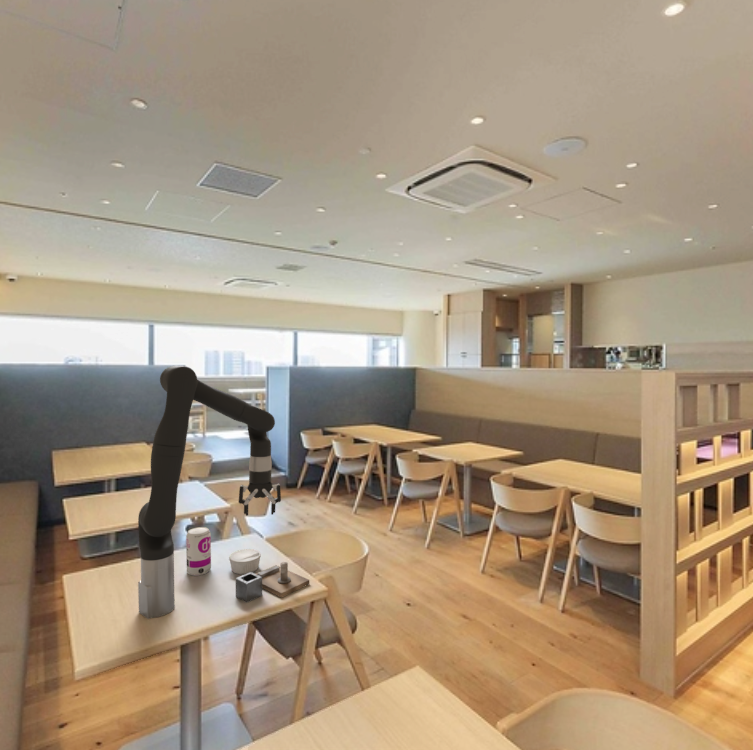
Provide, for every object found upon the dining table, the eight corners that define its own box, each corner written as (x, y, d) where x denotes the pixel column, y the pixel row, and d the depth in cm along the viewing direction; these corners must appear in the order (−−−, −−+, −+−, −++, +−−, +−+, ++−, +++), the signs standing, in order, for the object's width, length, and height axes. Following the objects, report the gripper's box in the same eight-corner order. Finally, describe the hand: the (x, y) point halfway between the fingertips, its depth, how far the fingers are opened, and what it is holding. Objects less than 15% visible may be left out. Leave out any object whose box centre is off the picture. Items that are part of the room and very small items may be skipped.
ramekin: (253, 577, 168) (253, 562, 168) (223, 574, 170) (223, 560, 170) (265, 563, 179) (265, 549, 179) (237, 561, 181) (237, 547, 181)
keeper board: (281, 597, 154) (281, 574, 153) (248, 580, 165) (248, 559, 165) (309, 584, 163) (309, 562, 163) (276, 569, 174) (275, 548, 174)
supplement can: (215, 569, 174) (215, 529, 173) (196, 578, 167) (195, 536, 166) (201, 564, 178) (200, 524, 178) (181, 572, 171) (181, 531, 171)
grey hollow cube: (246, 602, 151) (246, 583, 150) (235, 596, 154) (235, 578, 154) (262, 595, 155) (262, 577, 155) (251, 589, 159) (251, 571, 159)
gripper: (238, 471, 161) (237, 519, 161) (281, 470, 164) (280, 516, 164) (239, 466, 168) (239, 512, 169) (281, 465, 171) (280, 510, 172)
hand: (259, 514), depth 167 cm, fingers open, 8 cm apart
